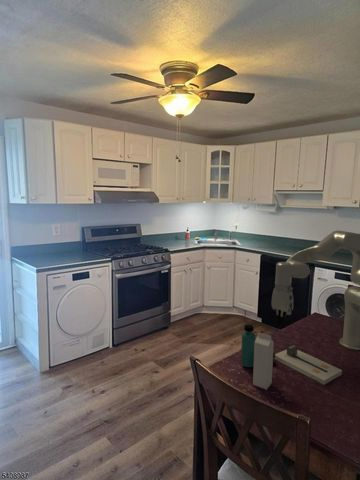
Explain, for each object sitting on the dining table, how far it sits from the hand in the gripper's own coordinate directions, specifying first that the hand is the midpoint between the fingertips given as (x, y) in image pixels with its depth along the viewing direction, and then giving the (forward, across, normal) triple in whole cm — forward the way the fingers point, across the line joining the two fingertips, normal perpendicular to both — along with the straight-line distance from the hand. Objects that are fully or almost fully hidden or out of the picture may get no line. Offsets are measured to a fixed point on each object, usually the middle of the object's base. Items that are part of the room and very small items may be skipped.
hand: (280, 323), depth 156 cm
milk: (+16, -13, +28) cm, 35 cm away
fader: (+13, -7, 0) cm, 15 cm away
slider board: (+16, -15, 0) cm, 22 cm away
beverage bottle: (+16, 0, +22) cm, 28 cm away
